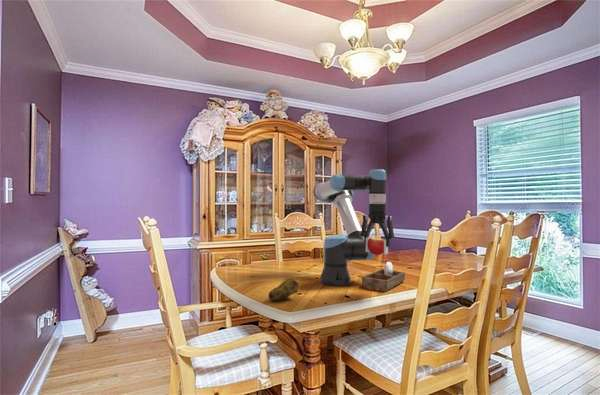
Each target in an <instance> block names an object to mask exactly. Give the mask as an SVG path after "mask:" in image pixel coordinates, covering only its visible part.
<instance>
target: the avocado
mask: <svg viewBox="0 0 600 395" xmlns="http://www.w3.org/2000/svg"><path fill="white" fill-rule="evenodd" d="M298 290H299V282H298V281H297V280H295V279H293V278H289V279H286V280H284V281H283V282H282V283H280V284H278V286H277V287H274V288H273V289H271V290H270V291H269V292H268V298H269V300H270V301H272V302H276V301H281V300H285V299H287V298H289V297H290V296H292V295H294V294H297V293H298V292H299V291H298Z"/></svg>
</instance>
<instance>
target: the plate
mask: <svg viewBox="0 0 600 395" xmlns="http://www.w3.org/2000/svg"><path fill="white" fill-rule="evenodd" d="M385 263H386V264H385V266H384V275H391V276H392V273H393V271H394V270H393V268H394V266H393V263H392V262H391V261H387V262H385Z"/></svg>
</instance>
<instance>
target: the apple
mask: <svg viewBox="0 0 600 395" xmlns="http://www.w3.org/2000/svg"><path fill="white" fill-rule="evenodd" d="M372 234H373V235H374V236H376V234H375V233H374V232H372ZM384 240H385V239H383V238H378V237H373V238H370V239H368V242H367V246H368V249H369V251H370V253H372V254H374V256H380V255H383V254H384Z"/></svg>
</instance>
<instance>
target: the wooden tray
mask: <svg viewBox="0 0 600 395" xmlns="http://www.w3.org/2000/svg"><path fill="white" fill-rule="evenodd" d="M384 269H385V268H384ZM384 269H383V268H382V269H379V270H376V271H374V272H372V273H369V274H366V275H364V276H362V277H361V285H362V287H364V288H365V289H369V288H370V289H371V290H375V289H376V291H378V289H379V291H380V290H382V291H381V292H388V291H390V290H391V289H393V288H395V287H396V285H397V286H399V285H400V283H401V282H402V283H404V282H403V281H404V280H406V273H405V272H403V271H398V270H397V271H396V270H393V273H392V276H391V275H384ZM402 283H401V284H402ZM398 284H399V285H398ZM394 286H395V287H394ZM389 289H390V290H389ZM387 290H388V291H387Z"/></svg>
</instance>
